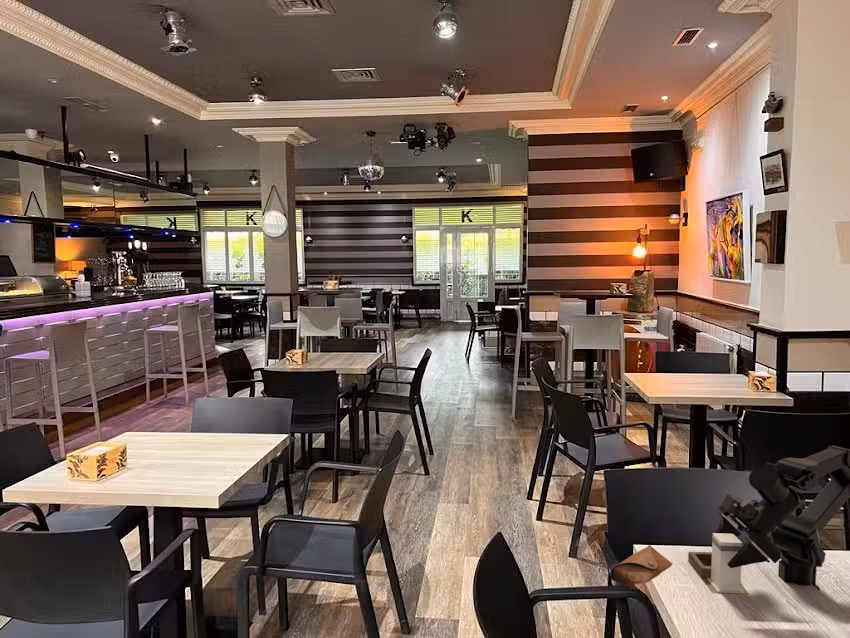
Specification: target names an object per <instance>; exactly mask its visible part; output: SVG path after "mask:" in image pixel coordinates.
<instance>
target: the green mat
mask: <svg viewBox="0 0 850 638" xmlns="http://www.w3.org/2000/svg"><path fill="white" fill-rule="evenodd" d="M707 580H708V581H709V582H710V584H711V585H712V586H713V588H714V589H715V590H716V591H717V593H716V594H723V593H744V592H743V591H742V590H741V588H740V591H735V590H719V589H718V588H717V586H716V585H715V584H714V583H713V581H712V580H711V578H707Z"/></svg>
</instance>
